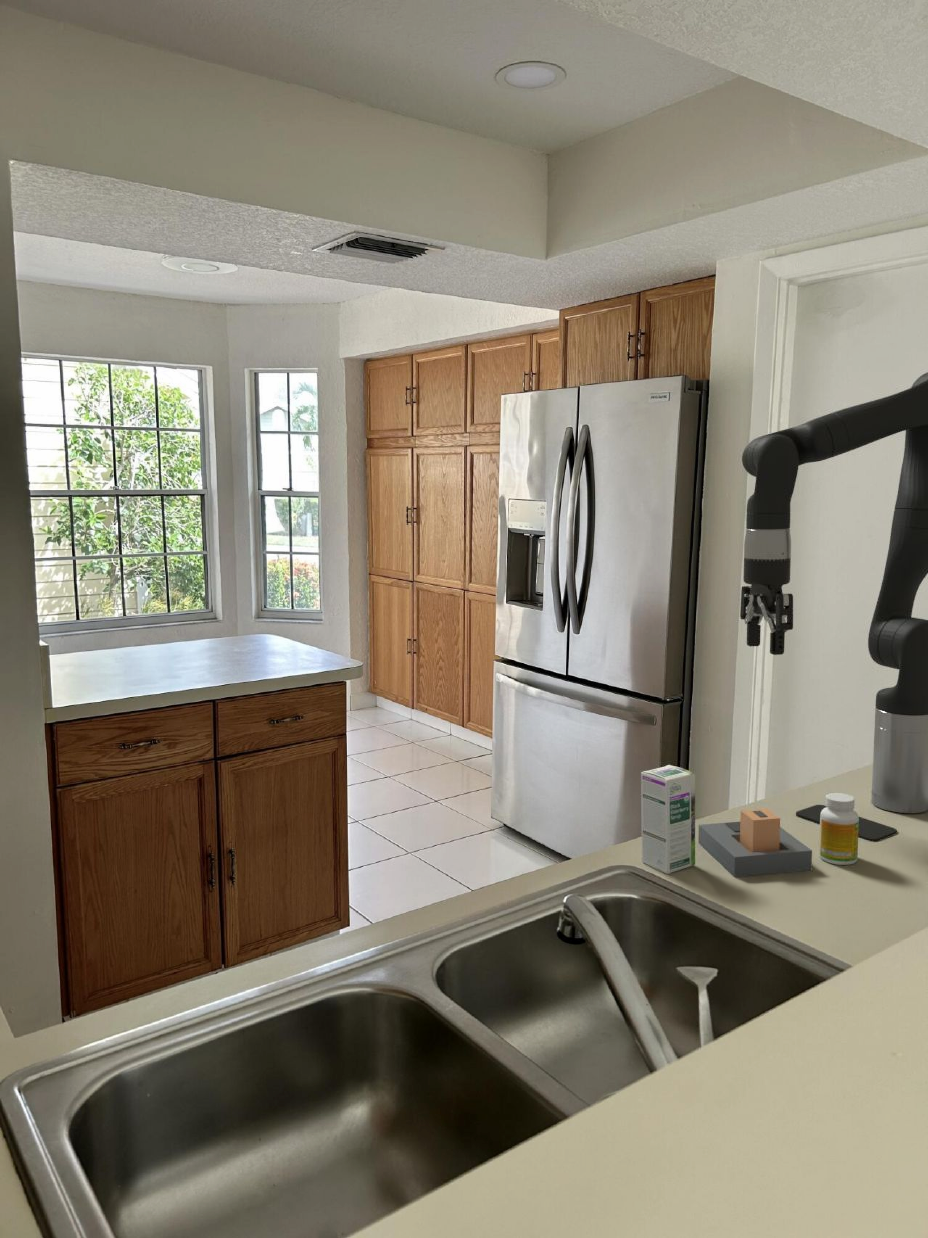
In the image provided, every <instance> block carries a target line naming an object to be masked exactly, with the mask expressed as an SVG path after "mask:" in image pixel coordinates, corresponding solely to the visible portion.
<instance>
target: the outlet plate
mask: <svg viewBox="0 0 928 1238" xmlns="http://www.w3.org/2000/svg"><path fill="white" fill-rule="evenodd" d="M697 842H698V844H699V845H700V846H701V847H702V848H703V849H704V850H705V851H707V853H709V855H711V856H712V858H713V859H715V860H716V862H718V863H719V864H720V865H721V866H722V867H723V868H725V869H726V871H728V872H729V873H730V874H731V875H732V876H733V877H735V878H738V877H746V876H747V877H748V876H757V875H759V876H760V875H769V874H782V873H793V872H802V871H803V872H804V871H812V863H813V850H812V849H811V848H809V847H808V846H807V845H805V844H804V843H802V842H801V841H800V840H799V839H797V838H796V837H794V836H793V835H792V834H791V833H789V832H788V831H786V830H785V829H783V828H782V827H781V826H780V843H779V850H778V851H766V852H755V853H751V852H750V851H748V850H747V849H746V848H745V847H744V846H743V845H741V844H740V821H729V822H717V823H705V824H698V841H697Z"/></svg>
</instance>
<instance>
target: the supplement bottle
mask: <svg viewBox="0 0 928 1238" xmlns="http://www.w3.org/2000/svg"><path fill="white" fill-rule="evenodd" d="M825 806H827V807H826V808H824V809H823V810H822V811H821V815H820V824H819V840H818V846H819V847H818V855H819V857H820V859H821V860H823V861H824V862H827V863H829V864H833V865H837V866H838V865H839V866H849V865H853V864H855V863H857V861H858V855H859V853H858V851H859V849H858V848H859V837H858V829H859V817H860V815H859V813H857V811H856V810H854V808H855V797H854V796H852V795H850V794H847V793H840V792H831V793H828V794H826V795H825Z"/></svg>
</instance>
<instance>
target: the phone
mask: <svg viewBox="0 0 928 1238" xmlns="http://www.w3.org/2000/svg"><path fill="white" fill-rule="evenodd" d="M826 807H827V806H826V804H814V805H812V806H809V807H805V808H803V809H800V810H797V811H796V812H795V817H797V818H800V819H802V820H806V821H809V822H810V823H811V822H812V823H814V824H817V825H820V815H821V811H822V810H823V809H824V808H826ZM897 833H898V829H897V828H895V827H892V826H889V825H886V824H882V823H879V822H876V821H874V820H870V819H867V818H865V817H861V816H859V829H858V839H862V840H865V841H867V842H878V841H881V840H884V839H886V838H889V837H892V836H894V835H897Z"/></svg>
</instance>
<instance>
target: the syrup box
mask: <svg viewBox="0 0 928 1238" xmlns="http://www.w3.org/2000/svg"><path fill="white" fill-rule="evenodd" d="M640 790H641V791H640V792H641V795H640V797H641V798H640V799H641V803H640V805H641V808H640V809H641V814H640V815H641V861H642V863H644V864H645V865H648V866H649V867H650V868H653V869H654V870H655V869H656V870H657V871H659V872H662V873H664V874H666V875H670V874H672V873H674V872H677V871H680V870H683V869H686V868H690V867H693V866H695V865H696V774H695V772H693V771H690V770H688V769H685V768H683V767H679V766H674V765H671V764H667V765H665V766H662V767H661V766H660V767H657V768H653V769H650V770H649V769H648V770H644V771H641V772H640Z"/></svg>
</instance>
